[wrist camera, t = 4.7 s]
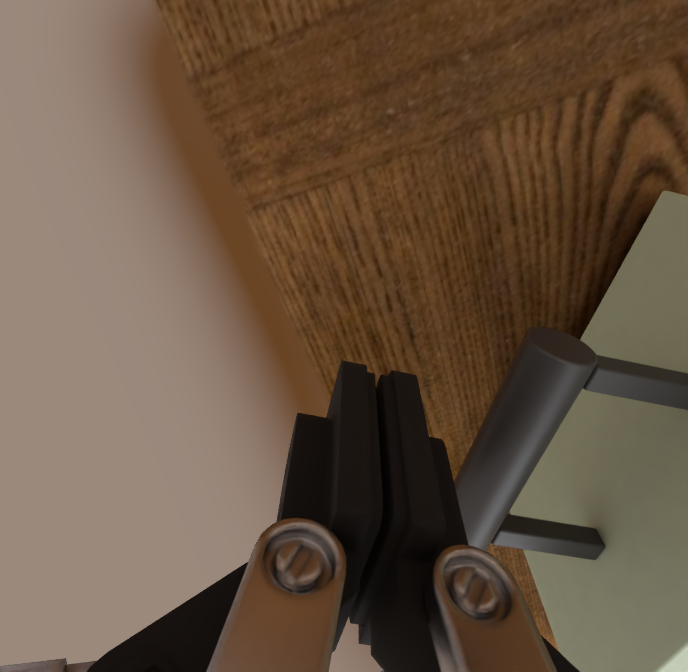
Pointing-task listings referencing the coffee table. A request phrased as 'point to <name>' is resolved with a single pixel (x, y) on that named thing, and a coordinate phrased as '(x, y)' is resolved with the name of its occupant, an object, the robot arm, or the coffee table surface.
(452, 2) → the coffee table surface
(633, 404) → the green drawer
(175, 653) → the robot arm
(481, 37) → the coffee table surface
